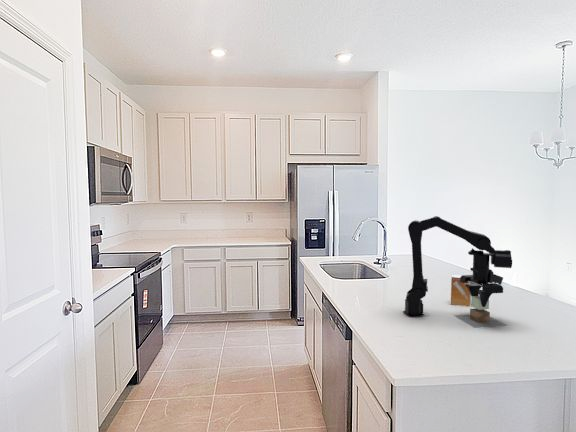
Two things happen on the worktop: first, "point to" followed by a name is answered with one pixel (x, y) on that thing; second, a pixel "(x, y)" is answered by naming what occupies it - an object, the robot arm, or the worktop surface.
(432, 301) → the worktop surface
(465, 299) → the small box
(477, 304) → the sage block
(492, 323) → the slate mat
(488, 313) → the walnut block
